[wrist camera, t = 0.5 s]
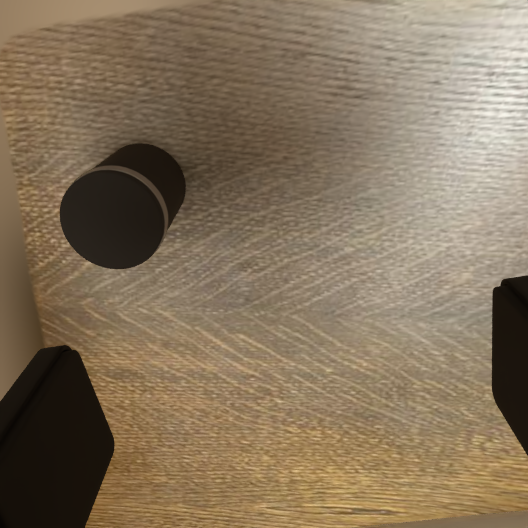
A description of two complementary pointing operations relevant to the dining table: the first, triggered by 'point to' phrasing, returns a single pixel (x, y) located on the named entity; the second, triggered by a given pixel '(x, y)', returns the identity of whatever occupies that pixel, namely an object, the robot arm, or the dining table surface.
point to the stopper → (123, 206)
